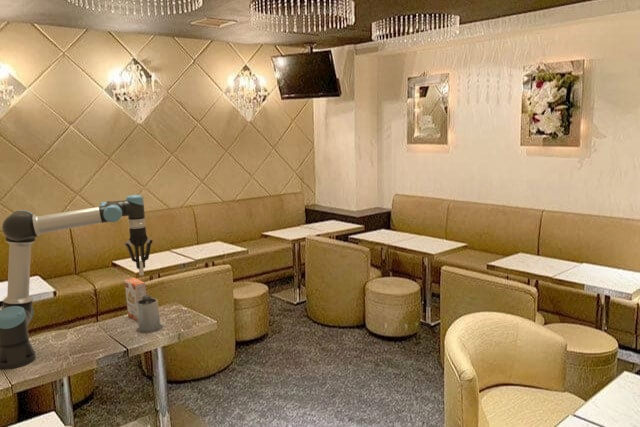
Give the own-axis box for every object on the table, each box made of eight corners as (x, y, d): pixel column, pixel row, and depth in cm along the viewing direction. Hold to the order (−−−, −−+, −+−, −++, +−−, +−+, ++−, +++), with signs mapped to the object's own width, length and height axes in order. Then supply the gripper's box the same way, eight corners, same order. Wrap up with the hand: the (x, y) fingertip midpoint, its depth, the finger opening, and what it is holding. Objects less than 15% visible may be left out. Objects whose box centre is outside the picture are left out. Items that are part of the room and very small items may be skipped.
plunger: (143, 323, 257) (141, 299, 255) (139, 319, 263) (137, 296, 261) (158, 319, 261) (155, 296, 259) (153, 315, 267) (151, 293, 265)
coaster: (140, 337, 254) (140, 335, 254) (132, 329, 265) (132, 327, 264) (166, 330, 261) (166, 329, 261) (158, 323, 272) (158, 321, 272)
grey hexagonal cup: (142, 333, 256) (139, 306, 254) (136, 327, 264) (134, 301, 262) (162, 328, 261) (160, 301, 259) (156, 323, 269) (153, 296, 267)
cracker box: (127, 317, 282) (123, 279, 279) (138, 314, 286) (134, 277, 283) (138, 323, 272) (134, 284, 269) (149, 320, 276) (145, 282, 273)
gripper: (125, 230, 248) (129, 278, 251) (153, 226, 255) (157, 273, 259) (121, 227, 254) (125, 275, 258) (148, 224, 261) (152, 270, 265)
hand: (141, 274), depth 258 cm, fingers closed
